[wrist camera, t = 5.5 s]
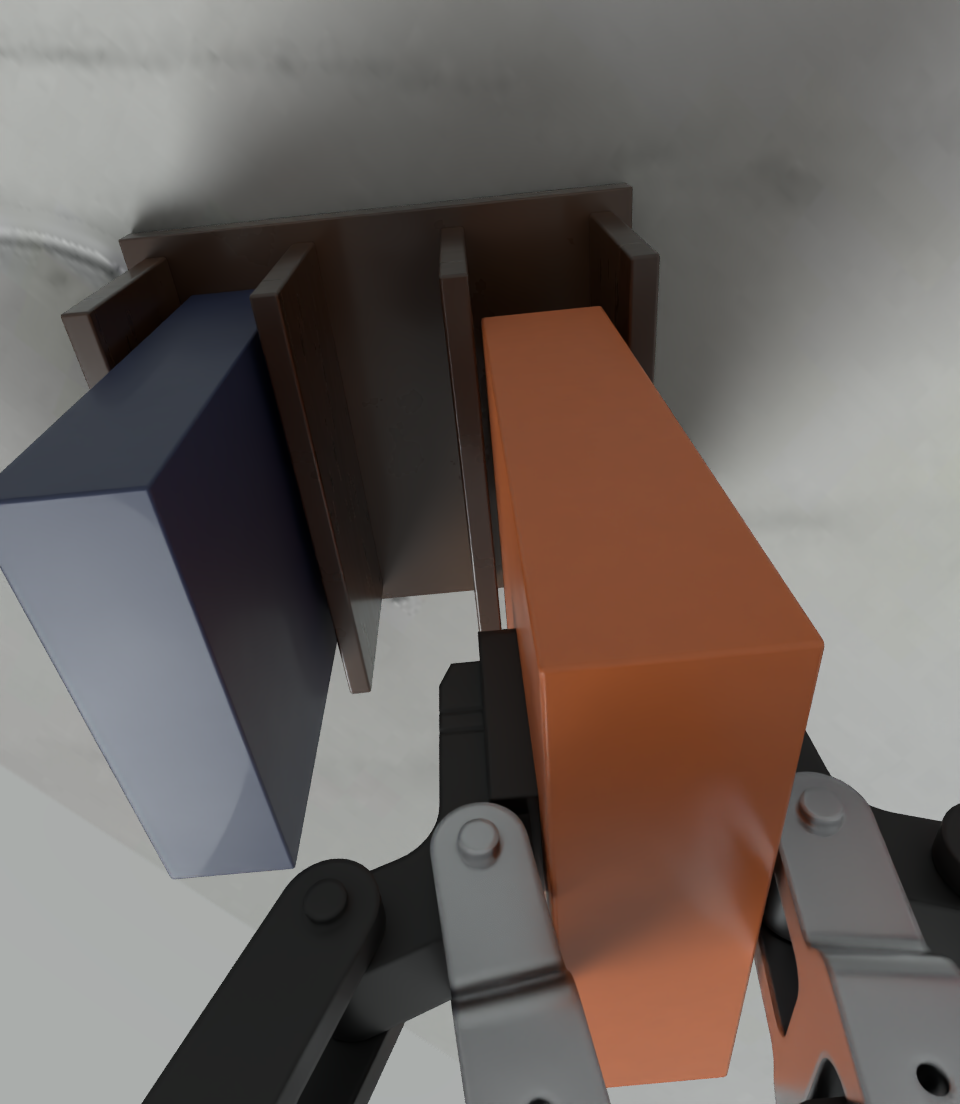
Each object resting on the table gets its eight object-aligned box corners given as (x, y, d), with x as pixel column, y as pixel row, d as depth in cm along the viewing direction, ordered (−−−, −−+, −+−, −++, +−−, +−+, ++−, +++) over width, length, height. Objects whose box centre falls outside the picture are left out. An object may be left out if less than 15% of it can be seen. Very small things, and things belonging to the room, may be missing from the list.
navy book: (273, 572, 24) (170, 881, 15) (190, 294, 19) (-37, 504, 10) (351, 565, 24) (295, 869, 15) (288, 285, 19) (148, 486, 10)
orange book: (508, 638, 21) (563, 1093, 12) (480, 316, 16) (539, 670, 7) (600, 629, 21) (728, 1078, 12) (601, 304, 16) (828, 642, 7)
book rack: (248, 598, 26) (204, 721, 21) (128, 233, 19) (22, 291, 14) (618, 563, 26) (658, 679, 21) (626, 182, 19) (688, 223, 14)
